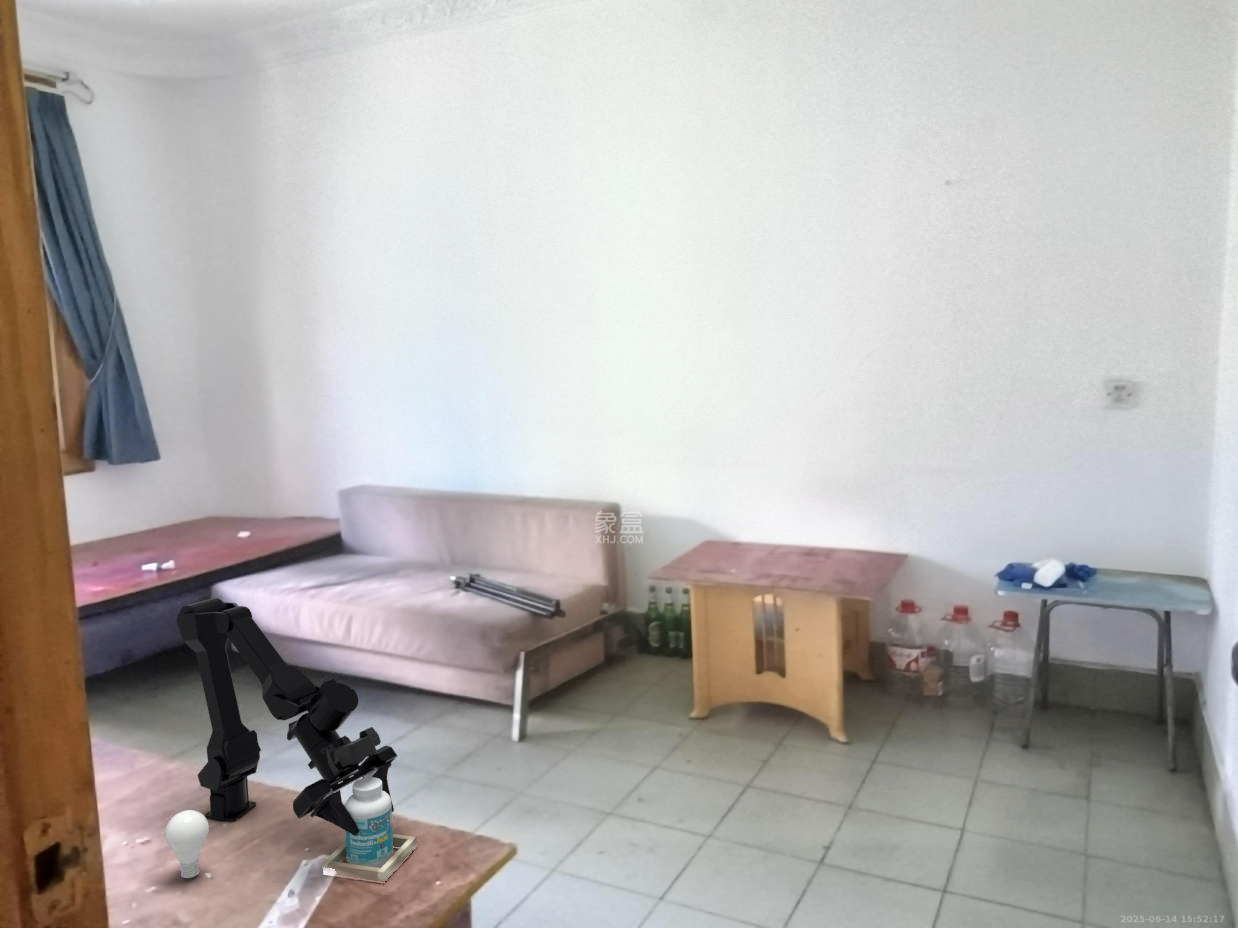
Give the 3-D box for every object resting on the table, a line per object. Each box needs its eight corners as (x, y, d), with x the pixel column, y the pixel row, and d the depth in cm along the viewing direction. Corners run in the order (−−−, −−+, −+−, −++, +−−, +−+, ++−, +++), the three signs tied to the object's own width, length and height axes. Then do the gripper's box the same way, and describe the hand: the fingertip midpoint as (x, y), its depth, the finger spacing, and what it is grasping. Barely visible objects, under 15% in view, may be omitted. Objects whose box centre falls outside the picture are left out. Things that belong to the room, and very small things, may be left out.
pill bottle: (346, 877, 147) (342, 796, 146) (347, 853, 154) (343, 776, 153) (394, 869, 149) (391, 790, 147) (393, 846, 156) (389, 770, 155)
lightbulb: (170, 870, 150) (165, 806, 148) (213, 862, 152) (208, 799, 151) (166, 891, 144) (161, 825, 143) (211, 883, 146) (206, 817, 145)
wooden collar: (358, 839, 158) (358, 829, 158) (416, 847, 155) (416, 836, 155) (322, 874, 148) (321, 863, 148) (383, 884, 145) (383, 872, 145)
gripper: (300, 739, 143) (356, 823, 139) (386, 699, 159) (438, 773, 155) (269, 776, 148) (322, 859, 143) (356, 734, 164) (405, 807, 159)
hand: (375, 822), depth 150 cm, fingers closed on pill bottle, 7 cm apart
